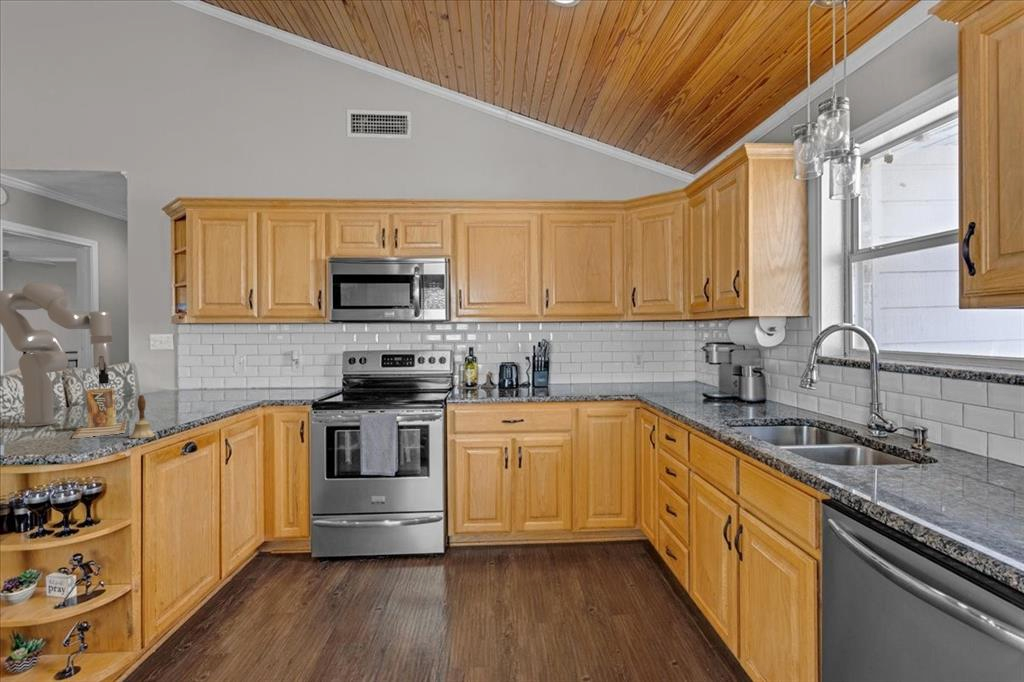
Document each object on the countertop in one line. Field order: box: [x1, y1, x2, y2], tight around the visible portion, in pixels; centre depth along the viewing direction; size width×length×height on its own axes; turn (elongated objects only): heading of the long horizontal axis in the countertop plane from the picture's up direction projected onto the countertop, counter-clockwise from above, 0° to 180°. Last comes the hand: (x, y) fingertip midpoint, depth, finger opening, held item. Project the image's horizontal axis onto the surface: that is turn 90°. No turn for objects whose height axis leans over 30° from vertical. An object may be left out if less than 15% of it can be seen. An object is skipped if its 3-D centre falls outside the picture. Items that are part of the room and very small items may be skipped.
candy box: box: [85, 387, 117, 428], centre depth 224 cm, size 9×4×15 cm, turn 114°
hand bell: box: [129, 394, 156, 439], centre depth 208 cm, size 8×8×16 cm
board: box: [72, 421, 128, 439], centre depth 219 cm, size 22×16×2 cm
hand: (103, 383), depth 231 cm, fingers closed
